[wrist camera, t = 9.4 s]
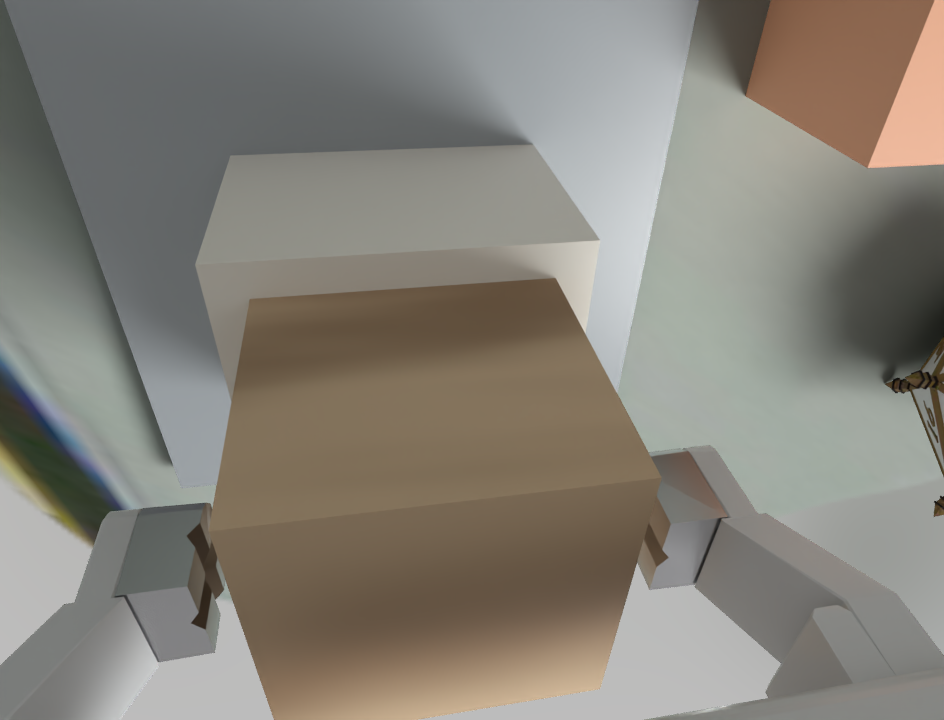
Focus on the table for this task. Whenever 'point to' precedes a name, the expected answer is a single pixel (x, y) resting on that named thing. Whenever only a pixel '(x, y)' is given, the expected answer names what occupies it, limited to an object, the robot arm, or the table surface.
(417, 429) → the oak brick
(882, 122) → the terracotta brick
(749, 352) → the table surface
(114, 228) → the baseplate
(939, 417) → the game die
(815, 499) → the table surface
